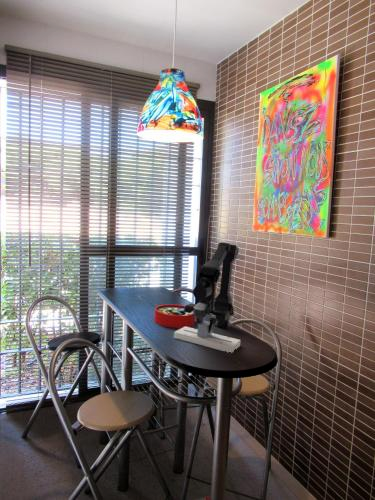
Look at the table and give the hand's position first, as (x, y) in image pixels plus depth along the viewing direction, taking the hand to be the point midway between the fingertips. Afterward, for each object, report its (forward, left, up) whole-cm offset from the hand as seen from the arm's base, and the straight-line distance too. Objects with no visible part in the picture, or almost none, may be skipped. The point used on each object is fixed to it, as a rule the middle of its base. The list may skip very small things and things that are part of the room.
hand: (204, 331), depth 151 cm
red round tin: (-16, -23, -4) cm, 29 cm away
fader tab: (0, 0, -1) cm, 1 cm away
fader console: (0, +1, -4) cm, 4 cm away
